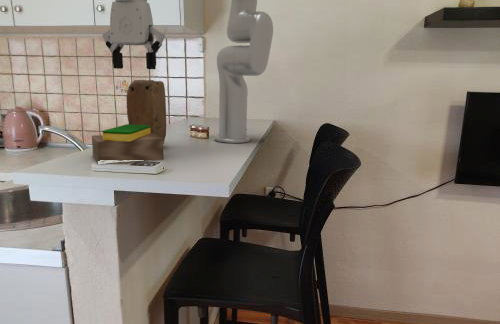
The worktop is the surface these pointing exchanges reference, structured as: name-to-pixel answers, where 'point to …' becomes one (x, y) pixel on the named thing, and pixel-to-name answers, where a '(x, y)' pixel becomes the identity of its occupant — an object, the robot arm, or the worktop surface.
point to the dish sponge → (126, 132)
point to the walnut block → (128, 148)
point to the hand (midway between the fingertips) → (134, 68)
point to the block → (147, 105)
